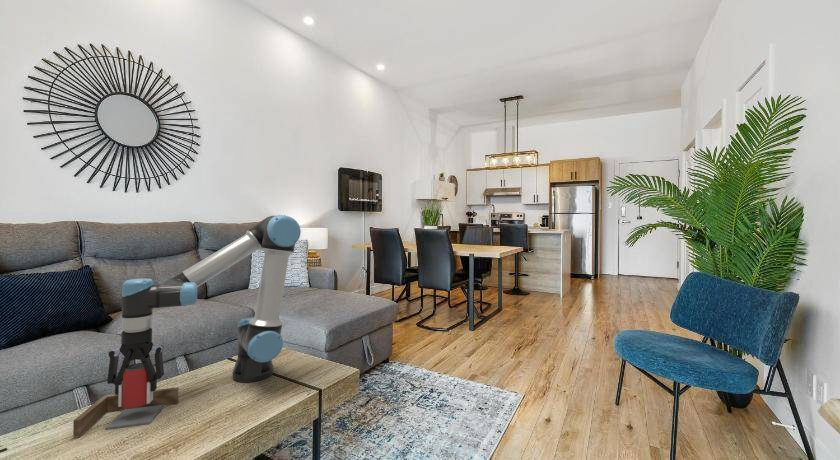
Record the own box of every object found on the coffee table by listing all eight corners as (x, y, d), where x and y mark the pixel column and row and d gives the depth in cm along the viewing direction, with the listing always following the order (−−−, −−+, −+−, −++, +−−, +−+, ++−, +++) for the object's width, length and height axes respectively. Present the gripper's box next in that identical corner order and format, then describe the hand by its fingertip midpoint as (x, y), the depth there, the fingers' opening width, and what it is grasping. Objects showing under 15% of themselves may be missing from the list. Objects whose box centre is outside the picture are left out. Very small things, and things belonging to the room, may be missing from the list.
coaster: (163, 406, 118) (163, 404, 118) (149, 424, 107) (149, 422, 107) (123, 411, 114) (123, 409, 114) (105, 429, 104) (105, 427, 104)
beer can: (116, 408, 108) (117, 369, 108) (137, 398, 115) (138, 361, 115) (134, 411, 107) (134, 371, 107) (154, 400, 113) (155, 363, 113)
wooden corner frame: (178, 401, 121) (178, 387, 121) (160, 426, 106) (160, 409, 106) (104, 410, 115) (104, 395, 115) (73, 438, 100) (73, 420, 100)
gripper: (177, 323, 117) (176, 393, 117) (105, 327, 111) (104, 401, 111) (169, 330, 110) (168, 404, 110) (91, 334, 104) (90, 413, 104)
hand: (136, 402), depth 111 cm, fingers closed on beer can, 6 cm apart
